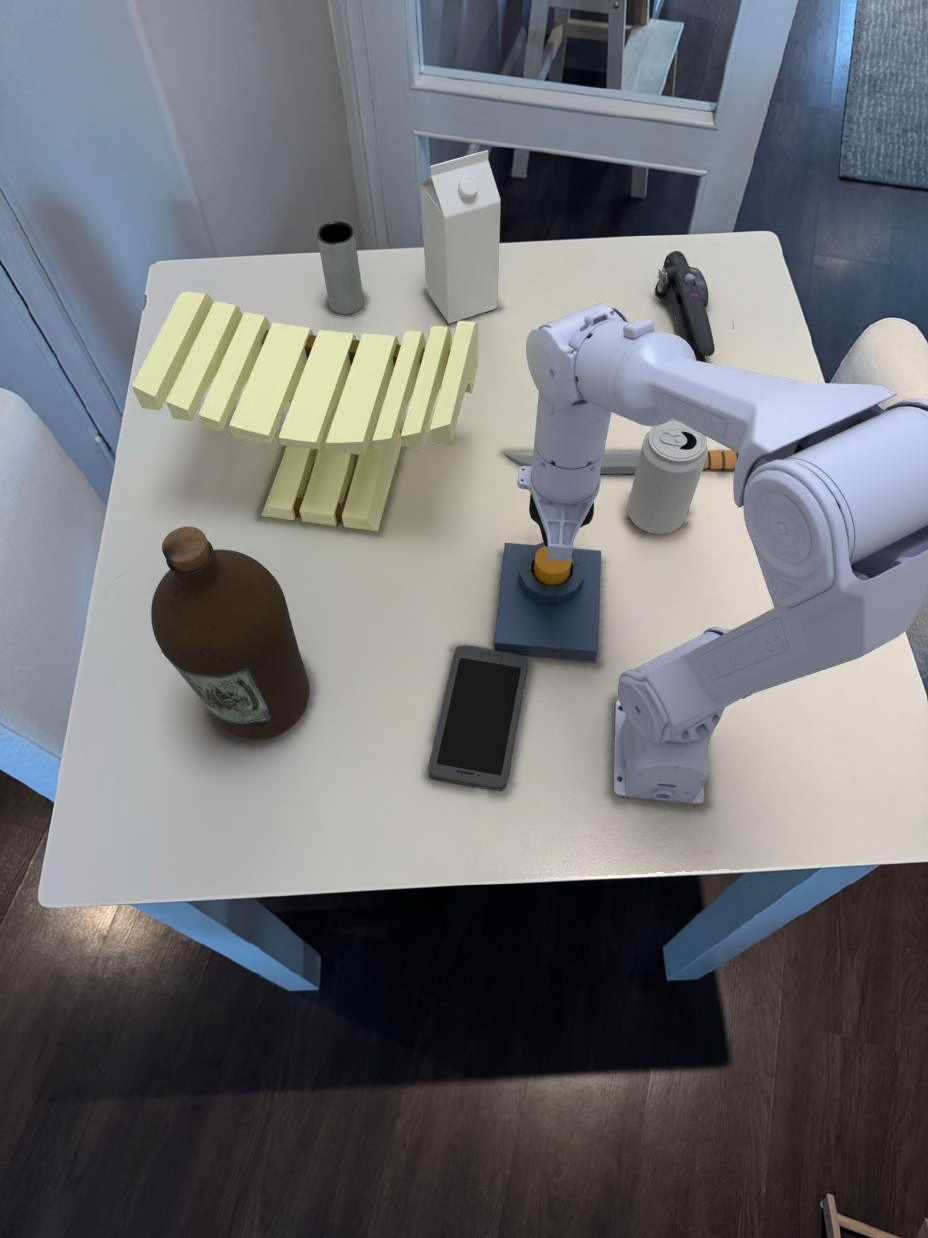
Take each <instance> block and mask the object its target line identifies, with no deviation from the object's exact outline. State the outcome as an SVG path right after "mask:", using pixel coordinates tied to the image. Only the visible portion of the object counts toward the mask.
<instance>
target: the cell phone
mask: <svg viewBox="0 0 928 1238" xmlns="http://www.w3.org/2000/svg"><path fill="white" fill-rule="evenodd" d="M528 664H529V660H528V656H523V655H520V654H515V653H509V652H503V651H497V650H494V649H491V648H484V647H478V646H474V645H473V646H472V645H463V644H462V645H461V644H459V645H458V646H456V647H455V650H454V653H453V656H452V661H451V666H450V670H449V673H448V674H449V675H448V679H447V683H446V687H445V692H444V696H443V701H442V705H441V709H440V714H439V716H438V722H437V727H436V731H435V735H434V739H433V744H432V748H431V753H430V756H429V761H428V774H429V776H430V777H432V778H434V779H437V780H441V781H446V782H452V783H458V784H464V785H468V786H474V787H478V788H479V787H480V788H484V789H490V790H495V791H496V790H503V789H505V788H506V786H507V783H508V779H509V774H510V769H511V764H512V758H513V754H514V748H515V747H514V746H515V742H516V735H517V731H518V725H519V719H520V713H521V707H522V701H523V697H524V690H525V684H526V678H527V673H528V667H529V665H528Z"/></svg>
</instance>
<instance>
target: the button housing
mask: <svg viewBox="0 0 928 1238" xmlns="http://www.w3.org/2000/svg"><path fill="white" fill-rule="evenodd" d="M543 546H545V545H544V542H539V543H537V544H526V543H513V542H504V546H503V547H504V548H503V556H502V566H501V576H500V586H499V595H498V605H497V615H496V623H495V632H494V633H495V634H494V643H493V645H494V647H493V650H497V651H503V652H509V653H515V654H520V655H523V656H525V657H535V658H546V659H556V660H567V661H578V662H588V663H589V662H590V663H596V661H597V657H598V653H599V634H600V633H599V631H600V604H601V603H600V602H601V601H600V599H601V570H602V569H601V568H602V567H601V566H602V563H601V562H602V550H600V549H589V548H588V549H587V548H577V547H576V548H575V547H573V549H572V555H571V558H572V563H571V569H570V574H569V577H568V579H567V580H566V581H565V582H563V583H562V584H559V585H554V586H551V585H546V584H543V583H542V582H540V581H539V580H538V579H537V578H536V576H535V574H534V563H535V555H536V553H537V551H538V550H539V549H540V548H542V547H543Z"/></svg>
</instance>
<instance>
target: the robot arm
mask: <svg viewBox="0 0 928 1238" xmlns="http://www.w3.org/2000/svg"><path fill="white" fill-rule="evenodd" d="M525 355H526V361H527V362H526V363H527V367H528V370H529V373H530V377H531V379H532V382H533V383H534V386H535V388H536V389H537V391H538V397H537V407H536V408H537V409H536V419H535V431H534V444H533V452H532V453H533V464H532V466H520V467H519V468H518V471H517V487H518V488H519V489H521V490H527V491H529V492H530V494H529V495H530V496H529V506H528V512H529V516H530V519H531V520H532V521H534V522H535V523H536V524H537V525H538V527H539V529H540V533H541V539H542V541H543V542H544V545H545V546H546V547H548V548H547V559H553V560H562V561H563V560H565V561H570V560H571V555H572V549H573V548H574V542H575V539H576V537H577V534H579V533H578V532H579V531H580V529H581V528H583V527H585V526H587V525H590V523H591V522H592V520H593V518H594V514H595V500H596V498H597V496H598V494H599V492H600V487H601V474H600V471H601V465H602V460H603V455H604V450H606V444H607V440H608V439H607V438H608V433H609V429H610V424H611V418H612V413H613V414H615V415H617V416H620V417H622V418H623V419H626V420H629V421H631V422H634V423H636V424H638V425H640V426H645V427H652V426H658V425H661V424H664V423H666V422H668V421H670V420H671V419H675V420H677V421H679V422H681V423H683V424H684V425H686V426H688V427H690V428H692V429H694V430H696V431H697V432H699V433H701V434H703V435H705V436H706V438H709V440H713V441H714V442H716V443H718V444H720V445H721V446H724V447H725V448H727V449H728V450H733V451H735V452H737V453H738V454H739V456H738V459H737V463H736V466H735V469H734V471H733V481H732V484H733V485H732V489H733V502H734V503H735V506H736V507H737V508H742V507H743V508H742V509H743V519H744V525H745V527H746V530H747V534H748V537H749V538H750V541H751V543H752V546H753V550H754V553H755V556H756V558H757V562H758V564H759V567H760V570H761V573H762V576H763V579H764V582H765V585H766V588H767V591H768V594H769V597H770V599H771V603H772V605H773V608H771V609H769V610H767V611H765V612H764V613H762V614H760V615H757V616H756V617H754V618H752V619H750V620H748V621H746V622H744V623H743V624H740V625H738V626H737V627H735V628H733V629H727V628H724V627H720V626H711V627H709V628H707V629H705V630H704V631H703V632H702V633H701V634H700V635H698V636H696V637H694V638H692V639H690V640H688V641H686V642H684V643H682V644H680V645H678V646H676V647H674V648H672V649H670V650H668V651H666V652H664V653H663V654H661V655H658V656H657V657H654V658H653V659H651V660H649V661H647V662H645V663H643V664H641V665H639V666H637V667H635V668H632V669H631V668H630V669H628V670H624V671H623V672H621V674H620V675H619V677H618V684H617V695H618V699H617V700H616V701H615V704H614V747H613V748H614V752H613V793H614V795H615V796H617V797H622V798H623V797H624V798H633V799H634V798H635V799H643V800H653V801H663V802H671V803H673V802H674V803H682V804H690V805H691V804H692V805H701V804H703V802H704V801H705V785H706V783H707V781H708V778H709V777H708V776H709V764H708V763H709V762H708V750H709V745H710V741H711V738H712V735H713V733H714V731H715V730H716V727H717V725H719V722H720V721H721V719H722V716H723V714H724V711H725V709H726V708H727V707H729V706H731V705H733V704H734V703H737V702H738V701H740V700H744V699H746V698H748V697H751V696H752V695H754V694H756V693H759V692H762V691H765V690H769V689H771V688H774V687H778V686H781V685H784V684H786V683H789V682H792V681H795V680H798V679H801V678H804V677H807V676H809V675H813V674H816V673H818V672H822V671H825V670H828V669H830V668H833V667H837V666H840V665H843V664H846V663H848V662H853V661H855V660H857V659H860V658H863V657H864V656H866V655H868V654H869V653H871V652H873V651H875V650H877V649H878V648H880V647H882V646H883V645H886V644H888V643H890V642H892V641H893V640H895V639H897V638H898V637H900V636H901V635H903V634H904V633H905V632H906V631H908V630H909V628H910V626H911V625H912V623H913V621H914V620H915V617H916V616H917V614H918V613H919V610H920V608H921V607H922V604H923V603H924V600H925V598H926V596H927V595H928V398H919V397H915V398H907V399H906V398H905V399H903V400H899V401H897V402H895V403H893V404H891V405H889V406H887V407H886V408H885V409H883V408H882V407H881V406H879V405H880V404H881V403H883V402H886V401H887V400H890V399H892V398H894V397H897V396H898V392H896V391H893V390H891V389H889V388H887V387H884V386H882V385H879V384H870V383H866V384H865V383H833V382H832V383H830V382H829V383H828V382H810V381H808V382H807V381H802V380H796V379H791V378H786V377H781V376H775V375H770V374H765V373H761V372H756V371H750V370H746V369H741V368H735V367H730V366H725V365H720V364H715V363H709V362H706V363H705V362H700V361H696V357H695V354H694V352H693V350H692V348H691V347H690V345H689V344H688V343H687V342H686V341H685V340H684V339H682V338H681V337H680V335H677V334H673V333H669V332H666V331H662V330H658V329H655V322H654V321H653V320H650V319H646V318H640V319H637V320H634V321H632V322H631V321H630V320H629V319H628V317H627V316H626V314H625V313H623V311H622V310H621V309H619V308H617V307H615V306H609V305H608V304H606V303H597V304H594V305H592V306H591V305H590V306H589V307H586V308H583V309H580V310H578V311H575V312H573V313H570V314H567V315H565V316H562V317H559V318H558V319H555V320H552V321H550V322H549V321H548V322H547V323H544V324H542V325H540V326H539V327H538V328H535V329H533V330H531V331H530V332H529V333H528V335H527V337H526V341H525ZM620 709H622V710H620ZM618 779H621V781H619V780H618Z"/></svg>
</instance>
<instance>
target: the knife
mask: <svg viewBox="0 0 928 1238" xmlns="http://www.w3.org/2000/svg"><path fill="white" fill-rule="evenodd" d="M640 452H641V449H605V450H604V455H603V460H602V465H601V471H600V475H618V474H619V475H623V474H624V475H629V474H630V475H632V474H633V475H635V472H636V468H637V464H638V460H639V456H640ZM533 453H534V452H504V455H505V456H507V457H508V458H509V459H510V460H511V461H513V462H515V463H516V464H518V465H519V466H520V467H522V466H532V464H533ZM738 456H739V454H738V453H737V452H735V451H733V450H731V449H723V450H722V451H721V450H720V449H716V450H715V449H712V450H711V449H708V454H707V458H706V461H705V464H704V467H703V470H708V469H710V470H722V469H723V470H735V466H736V463H737V459H738Z"/></svg>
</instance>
